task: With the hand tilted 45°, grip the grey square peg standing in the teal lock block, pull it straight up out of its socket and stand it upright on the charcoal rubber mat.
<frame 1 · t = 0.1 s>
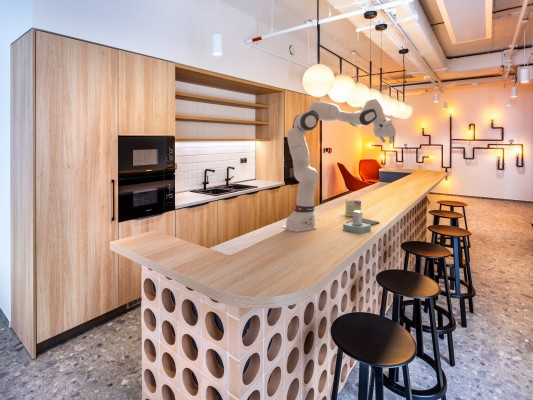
hand: (388, 142, 216), 54 cm above the countertop, tool tilted 30°, fingers open, 8 cm apart
lock block: (356, 229, 207), on the countertop
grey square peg: (356, 230, 207), resting in lock block
box: (352, 215, 245), on the countertop
mat: (362, 223, 223), on the countertop
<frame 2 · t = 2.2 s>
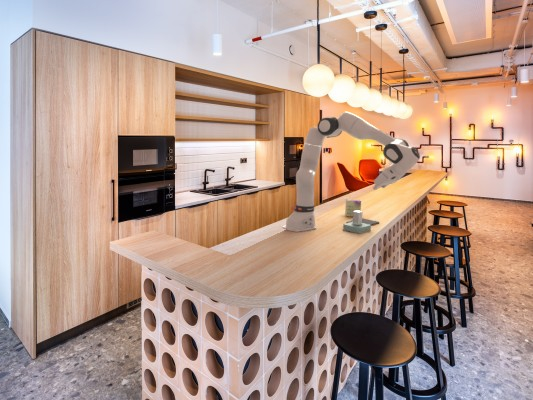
hand: (378, 188, 193), 28 cm above the countertop, tool tilted 45°, fingers open, 8 cm apart
nothing on the countertop moved.
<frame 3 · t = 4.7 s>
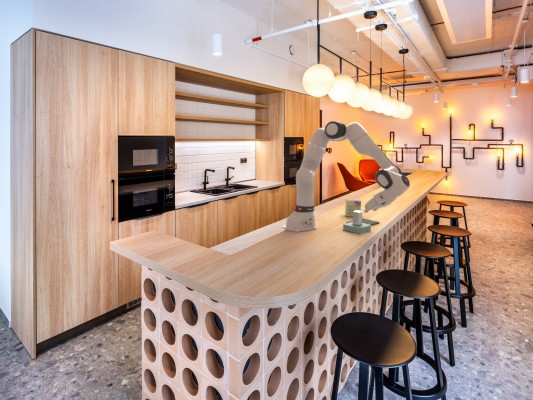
hand: (369, 211, 198), 14 cm above the countertop, tool tilted 45°, fingers open, 8 cm apart
nothing on the countertop moved.
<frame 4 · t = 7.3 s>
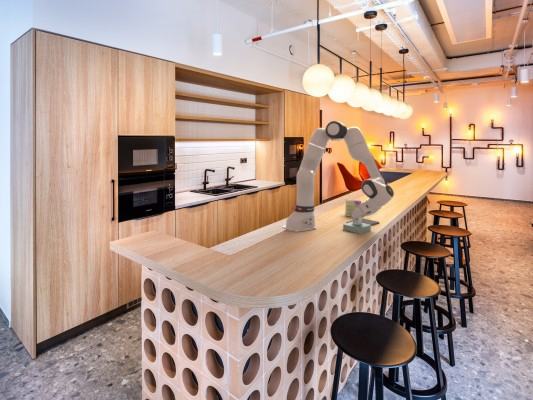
hand: (356, 219, 206), 7 cm above the countertop, tool tilted 45°, fingers closed on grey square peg, 4 cm apart
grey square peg: (356, 229, 207), resting in lock block, touching gripper
everything else where it was.
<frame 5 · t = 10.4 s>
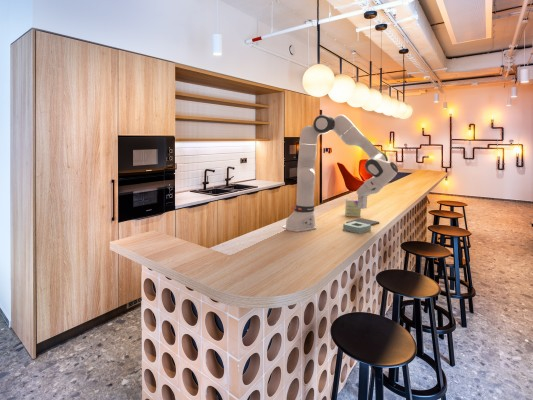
hand: (361, 197, 211), 20 cm above the countertop, tool tilted 45°, fingers closed on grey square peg, 4 cm apart
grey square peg: (362, 207, 211), point 13 cm above the countertop, touching gripper
everything else where it was.
when the fingers open (9 cm above the countertop, at t = 13.8 s): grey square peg drops 1 cm, resting on mat.
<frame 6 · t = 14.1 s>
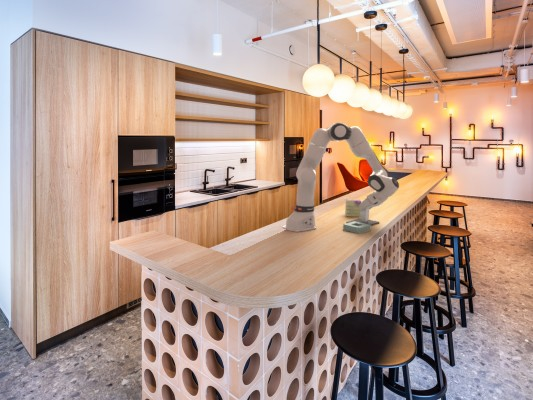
hand: (364, 210, 221), 9 cm above the countertop, tool tilted 45°, fingers open, 7 cm apart
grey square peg: (364, 222, 222), point 1 cm above the countertop, touching mat
everything else where it was.
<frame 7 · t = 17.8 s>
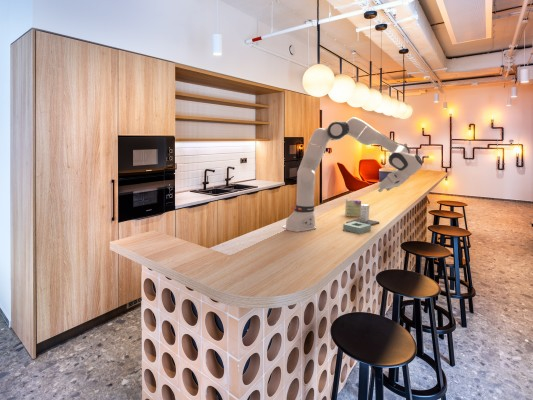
hand: (383, 190, 208), 24 cm above the countertop, tool tilted 45°, fingers open, 8 cm apart
nothing on the countertop moved.
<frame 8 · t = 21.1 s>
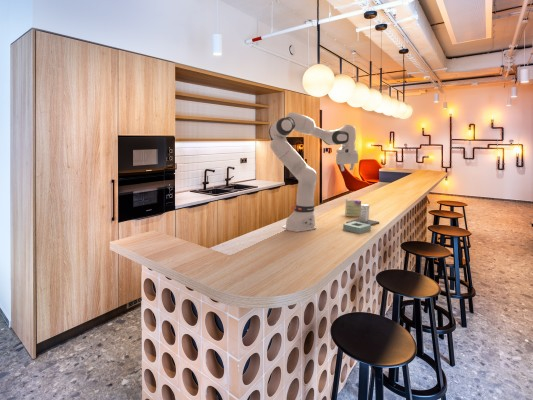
hand: (347, 170, 223), 35 cm above the countertop, tool pointing down, fingers open, 8 cm apart
nothing on the countertop moved.
at the end: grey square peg inside the target area on the mat (1.0 cm from its centre), point 1.0 cm above the mat's base; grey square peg tilted 0°; the gripper is holding nothing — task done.
